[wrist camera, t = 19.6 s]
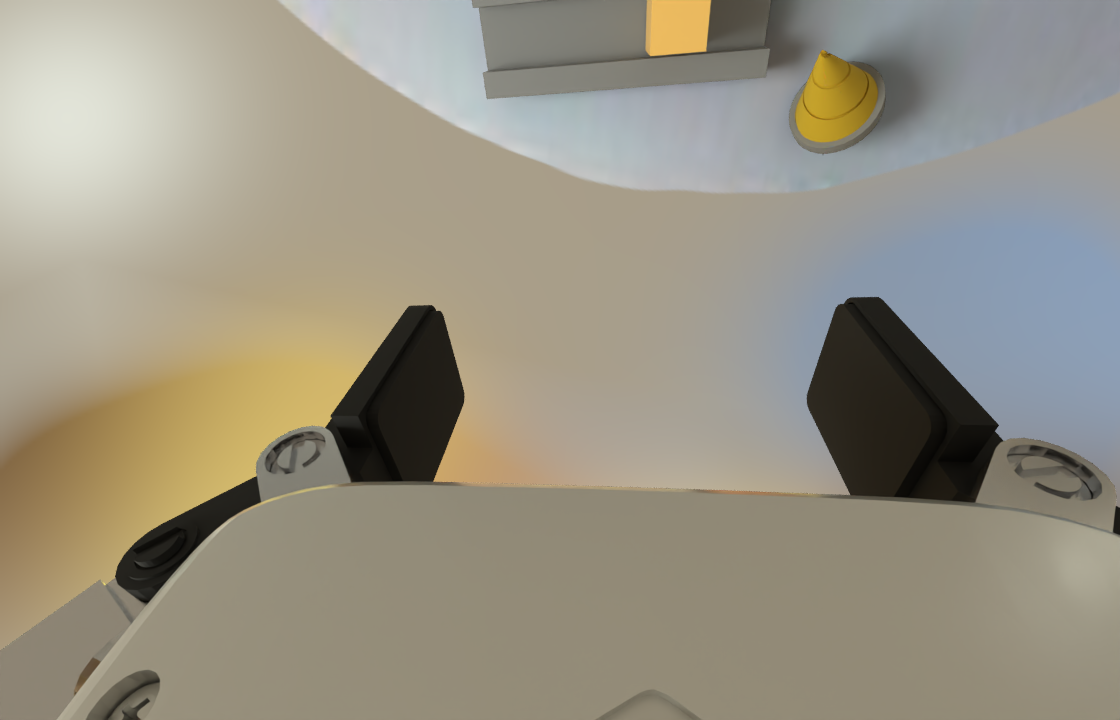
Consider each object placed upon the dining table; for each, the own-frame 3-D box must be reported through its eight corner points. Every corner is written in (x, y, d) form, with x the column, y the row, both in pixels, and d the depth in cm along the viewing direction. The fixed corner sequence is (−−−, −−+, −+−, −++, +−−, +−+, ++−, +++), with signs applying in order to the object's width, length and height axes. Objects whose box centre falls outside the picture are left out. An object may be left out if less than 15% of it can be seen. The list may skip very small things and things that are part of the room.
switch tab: (697, -7, 27) (712, -11, 23) (693, 46, 29) (706, 51, 25) (646, -2, 28) (652, -5, 23) (645, 50, 29) (650, 56, 25)
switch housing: (773, -55, 27) (788, -61, 24) (754, 72, 31) (765, 77, 28) (480, -22, 29) (467, -25, 27) (496, 92, 33) (486, 99, 31)
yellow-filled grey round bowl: (786, 163, 34) (753, 100, 26) (817, 89, 33) (792, -1, 25) (864, 174, 31) (854, 107, 23) (901, 93, 30) (903, -7, 22)
